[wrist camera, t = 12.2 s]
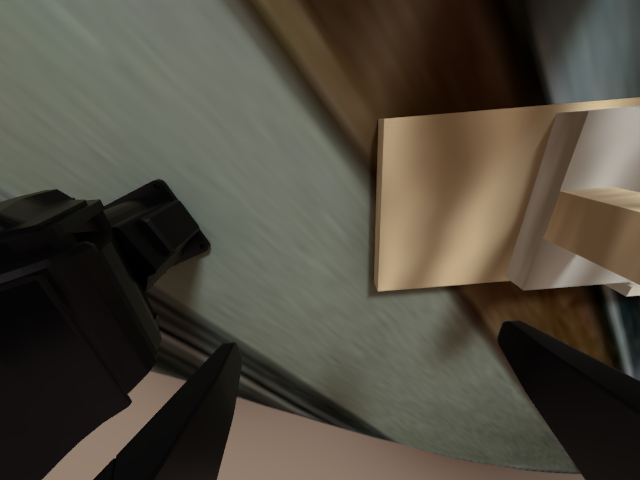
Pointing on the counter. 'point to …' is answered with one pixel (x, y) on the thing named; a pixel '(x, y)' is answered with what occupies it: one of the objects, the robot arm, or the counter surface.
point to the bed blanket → (583, 204)
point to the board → (458, 192)
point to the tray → (626, 288)
